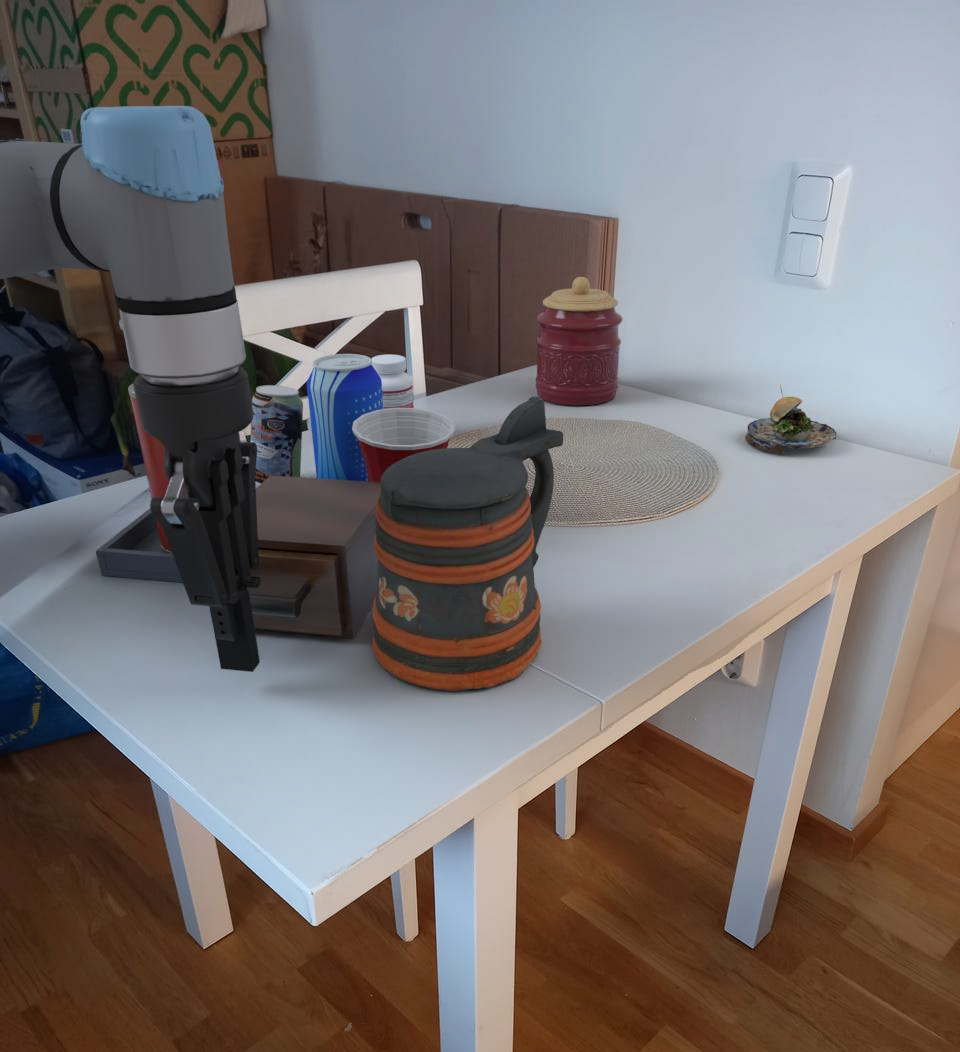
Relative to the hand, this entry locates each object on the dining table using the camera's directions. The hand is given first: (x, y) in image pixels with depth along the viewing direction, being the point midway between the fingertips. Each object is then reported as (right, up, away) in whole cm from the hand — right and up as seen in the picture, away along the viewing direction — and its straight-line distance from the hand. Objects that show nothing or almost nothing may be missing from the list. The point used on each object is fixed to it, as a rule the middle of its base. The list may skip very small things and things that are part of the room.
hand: (240, 665), depth 74 cm
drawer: (+2, +5, +12) cm, 13 cm away
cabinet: (+3, +6, +15) cm, 17 cm away
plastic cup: (+11, +14, +29) cm, 34 cm away
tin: (-11, +12, +24) cm, 29 cm away
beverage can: (-5, +21, +40) cm, 46 cm away
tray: (-11, +11, +24) cm, 29 cm away
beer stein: (+19, +2, +8) cm, 20 cm away
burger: (+61, +29, +52) cm, 85 cm away
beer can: (+4, +19, +37) cm, 42 cm away
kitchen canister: (+35, +41, +72) cm, 90 cm away
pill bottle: (+7, +30, +55) cm, 63 cm away
